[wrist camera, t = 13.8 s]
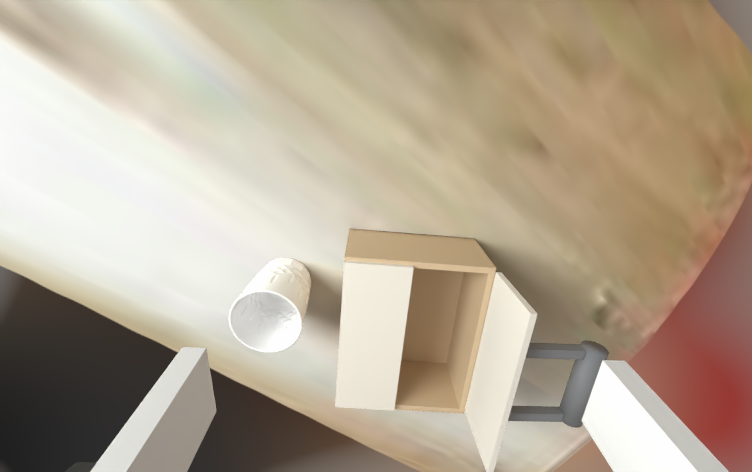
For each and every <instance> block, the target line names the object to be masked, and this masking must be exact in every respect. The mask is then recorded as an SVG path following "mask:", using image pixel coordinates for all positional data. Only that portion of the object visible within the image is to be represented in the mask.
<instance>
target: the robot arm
mask: <svg viewBox="0 0 752 472" xmlns="http://www.w3.org/2000/svg"><path fill="white" fill-rule="evenodd" d="M215 413H216V405H215V400H214V393H213V387H212V381H211V374H210V368H209V362H208V355H207V349H206V348H193V347H182V349H181V350H180V351H179V353H178V354H177V355H176V357H175V358H174V359H173V361H172V362H171V363H170V365H169V366H168V367H167V369H166V370H165V371H164V373H163V374H162V376H161V377H160V378H159V380H158V381H157V382H156V384H155V385H154V386H153V388H152V389H151V390H150V392H149V393H148V395H147V396H146V397H145V398H144V400H143V401H142V403H141V404H140V405H139V407H138V408H137V409H136V411H135V412H134V413H133V415H132V416H131V417H130V419H129V420H128V422H127V423H126V424H125V425H124V427H123V428H122V430H121V431H120V432H119V434H118V435H117V436H116V438H115V439H114V440H113V442H112V443H111V444H110V446H109V447H108V448H107V450H106V451H105V452H104V454H103V455H102V456H101V458H100V459H99V460H98V462H97V463H83V462H77V463H76V464H74V465H73V466H72V467H70V468H69V469H68V470H67V471H65V472H187V470H188V468H189V466H190V464H191V462H192V460H193V458H194V456H195V454H196V451H197V450H198V448H199V446H200V444H201V442H202V439H203V438H204V435H205V433H206V431H207V429H208V427H209V425H210V423H211V421H212V419H213V417H214V415H215ZM581 421H582V422H583V424H584V426H585V427H586V429H587V430H588V432H589V434H590V435H591V437H592V438H593V440H594V441H595V443H596V444H597V446H598V448H599V449H600V451H601V453H602V454H603V456H604V457H605V459H606V460H607V462H608V464H609V465H610V467H611V468H612V470H613V471H614V472H728V470H727V469H726V468H725V467H724V466H723V465H722V464H721V463H720V462H719V461H718V460H717V459H716V458H715V457H714V455H713V454H712V453H711V452H710V451H709V450H708V449H707V448H706V447H705V446H704V445H703V444H702V443H701V442H700V440H699V439H698V438H697V437H696V436H695V435H694V434H693V433H692V432H691V431H690V430H689V429H688V428H687V426H686V425H685V424H684V423H682V421H681V420H680V419H679V418H678V417H677V416H676V415H675V414H674V413H673V412H672V410H670V409H669V407H668V406H667V405H666V404H665V403H664V402H663V401H662V400H661V399H660V398H659V397H658V396H657V394H656V393H655V392H654V391H653V390H652V389H651V388H650V387H649V386H648V385H647V384H646V383H645V382H644V381H643V379H641V377H640V376H639V375H638V374H637V373H636V372H635V371H634V370H633V369H632V368H631V367H630V366H629V365H628V363H627V362H626V361H615V360H602V363H601V366H600V369H599V372H598V375H597V378H596V380H595V383H594V386H593V389H592V392H591V395H590V398H589V400H588V403H587V406H586V409H585V412H584V415H583V418H582V420H581Z"/></svg>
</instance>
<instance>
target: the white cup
mask: <svg viewBox="0 0 752 472" xmlns="http://www.w3.org/2000/svg"><path fill="white" fill-rule="evenodd" d="M311 284H312V283H311V277H310V273H309V272H308V270H307V269H306V268H305V266H304V265H303V264H301V263H300V262H298V261H296V260H294V259H290V258H278V259H275V260H272V261H270V262H269V263H268V264H267V265H266V266H265V267H264V268H263V269H262V270H261V271H260V272H259V273H258V274H257V275H256V277H255V278H254V279H253V280H252V281H251V282H250V283H249V285H248V286H247V287H246V288H245V290H244V291H243V292H242V293H241V295H240V296H239V297H238V298H237V300H236V301H235V302H234V303H233V305H232V307H231V309H230V312H229V325H230V328H231V330H232V332H233V334H234V335H235V337H236V338H237V339H238V340H239V341H240V342H241V343H242V344H244V345H245V346H247V347H248V348H251V349H253V350H256V351H259V352H266V353H273V352H279V351H282V350H285V349H287V348H289V347H290V346H292V345H293V344H294V343H295V342H296V341H297V339H298V338H299V336H300V334H301V331H302V327H303V323H304V319H305V315H306V310H307V306H308V301H309V293H310V288H311Z"/></svg>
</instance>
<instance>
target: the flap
mask: <svg viewBox="0 0 752 472" xmlns="http://www.w3.org/2000/svg"><path fill="white" fill-rule="evenodd" d="M537 315H538V314H537V313H536V312H535V310H534V309H533V308H532V307H531V306H530V305H529V304H528V302H527V301H526V300H525V299H524V298H523V297H522V296H521V294H520V293H519V292H518V291H517V290H516V289H515V287H514V286H513V285H512V284H511V283H510V282H509V281H508V279H507V278H506V277H505V276H504V275H503V274H502V272H496V274H495V278H494V283H493V287H492V292H491V296H490V301H489V305H488V310H487V314H486V319H485V323H484V328H483V332H482V337H481V341H480V345H479V350H478V354H477V359H476V363H475V368H474V372H473V377H472V381H471V386H470V390H469V395H468V399H467V404H466V408H465V414H466V417H467V419H468V422H469V425H470V428H471V430H472V433H473V436H474V439H475V442H476V444H477V447H478V450H479V453H480V455H481V458H482V461H483V464H484V466H485V469H486V472H494V468H495V465H496V461H497V458H498V454H499V450H500V447H501V443H502V440H503V436H504V433H505V429H506V426H507V422H508V421H550V422H564V423H565V424H567V425H569V426H571V427H580V426H582V423H583V422H582V421H581V420H582V418H583V415H584V412H585V409H586V406H587V403H588V400H589V398H590V395H591V392H592V389H593V386H594V383H595V380H596V378H597V375H598V372H599V369H600V366H601V363H602V360H606V359H607V357H608V354H609V352H608V350H607V349H606V348H605V347H603V346H602V345H600V344H598V343H596V342H592V341H583V342H581V345H576V344H548V343H530V340H531V336H532V333H533V329H534V326H535V322H536V318H537ZM525 358H548V359H576V360H575V363H574V366H573V369H572V371H571V374H570V377H569V380H568V383H567V386H566V389H565V392H564V395H563V398H562V401H561V404H560V407H542V406H512V404H513V401H514V397H515V393H516V390H517V386H518V383H519V379H520V376H521V372H522V368H523V365H524V361H525Z"/></svg>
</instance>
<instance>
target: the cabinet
mask: <svg viewBox="0 0 752 472" xmlns="http://www.w3.org/2000/svg"><path fill="white" fill-rule="evenodd" d="M495 272H496V267H495V266H494V264H493V263H492V262H491V260H490V259H489V258H488V256H487V255H486V254H485V252H484V251H483V250H482V248H481V247H480V246H479V244H478V243H477V242H476V240H475V239H474V238H462V237H449V236H437V235H424V234H412V233H399V232H386V231H374V230H361V229H350V230H349V236H348V241H347V247H346V252H345V260H344V271H343V287H342V303H341V319H340V336H339V352H338V368H337V384H336V400H335V407H343V408H360V409H376V410H393V411H394V409H398V410H415V411H431V412H448V413H464V411H465V407H466V402H467V398H468V393H469V389H470V384H471V380H472V375H473V371H474V366H475V362H476V357H477V353H478V348H479V344H480V339H481V335H482V330H483V326H484V321H485V317H486V312H487V308H488V304H489V299H490V295H491V290H492V286H493V281H494V277H495Z"/></svg>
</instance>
